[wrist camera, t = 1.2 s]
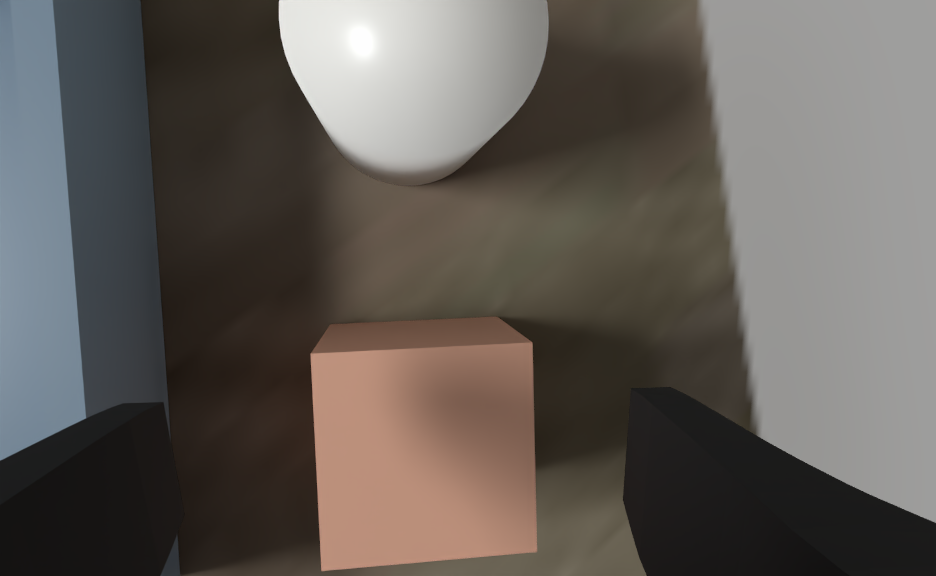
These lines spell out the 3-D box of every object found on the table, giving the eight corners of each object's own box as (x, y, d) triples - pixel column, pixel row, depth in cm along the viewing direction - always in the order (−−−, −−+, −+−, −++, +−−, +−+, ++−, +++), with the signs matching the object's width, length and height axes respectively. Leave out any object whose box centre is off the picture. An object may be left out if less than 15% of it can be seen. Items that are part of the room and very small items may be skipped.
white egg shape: (493, 184, 19) (551, 154, 13) (323, 187, 19) (286, 158, 12) (488, 12, 19) (545, -117, 12) (315, 10, 18) (271, -126, 12)
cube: (500, 474, 20) (537, 552, 15) (338, 487, 20) (321, 570, 15) (496, 316, 20) (532, 342, 15) (330, 324, 19) (310, 353, 14)
